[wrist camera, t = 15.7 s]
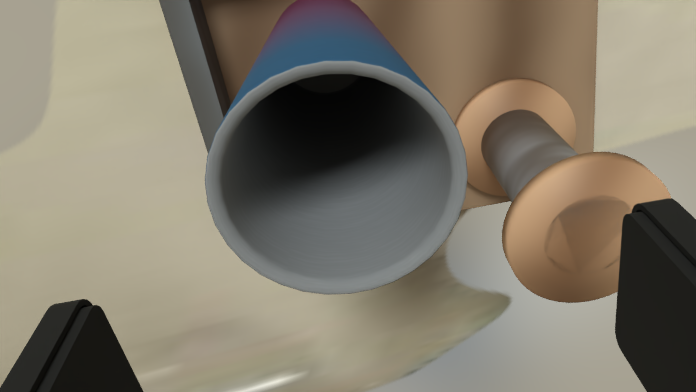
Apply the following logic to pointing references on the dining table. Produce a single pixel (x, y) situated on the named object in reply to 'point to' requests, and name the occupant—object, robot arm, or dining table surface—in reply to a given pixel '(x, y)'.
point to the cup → (334, 158)
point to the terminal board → (475, 116)
